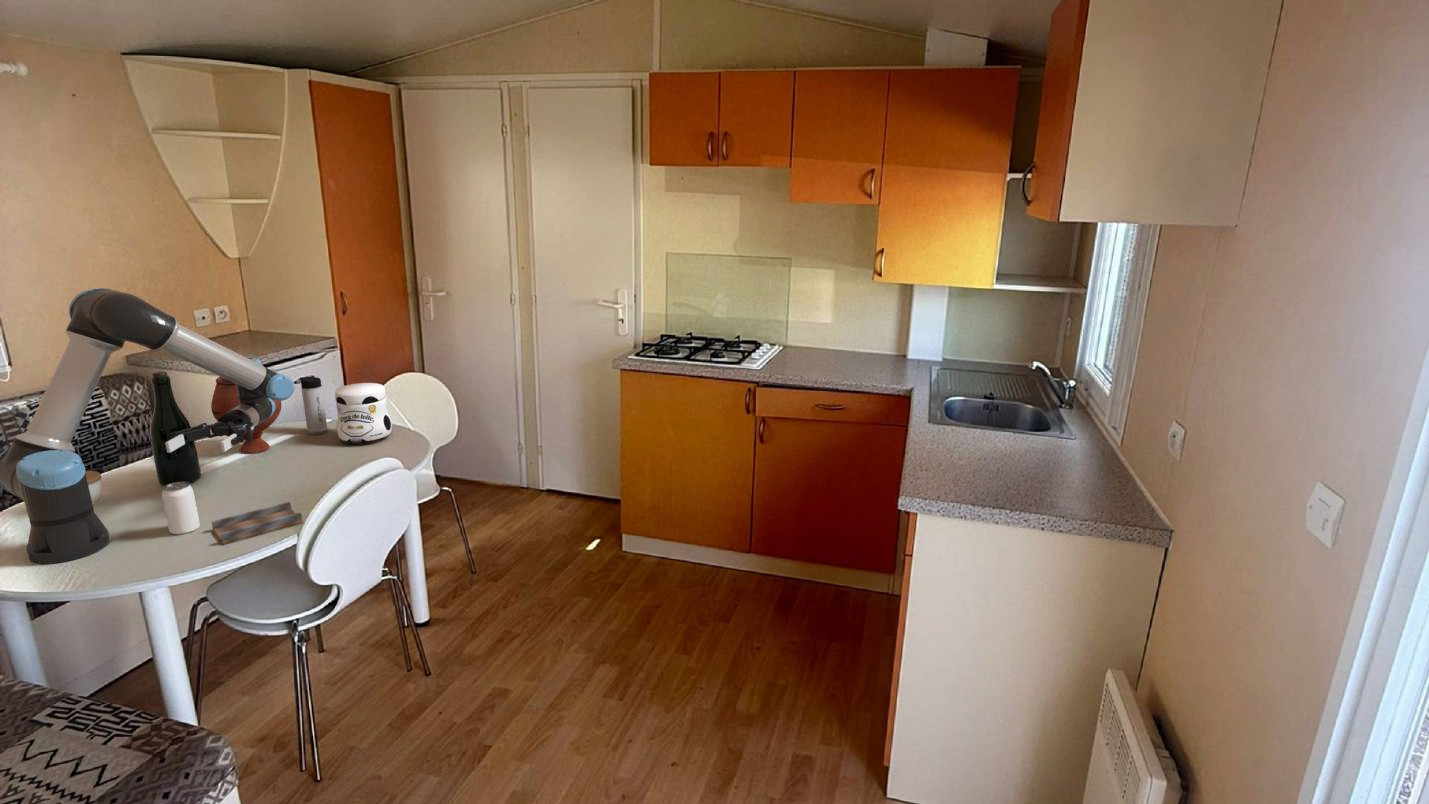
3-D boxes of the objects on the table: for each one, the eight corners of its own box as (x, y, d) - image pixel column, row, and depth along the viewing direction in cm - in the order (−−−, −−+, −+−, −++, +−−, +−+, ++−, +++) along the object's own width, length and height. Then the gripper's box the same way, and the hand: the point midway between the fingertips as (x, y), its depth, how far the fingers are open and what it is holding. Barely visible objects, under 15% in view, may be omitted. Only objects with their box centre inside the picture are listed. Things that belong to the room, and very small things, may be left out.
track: (223, 544, 184) (222, 535, 183) (212, 530, 191) (211, 520, 190) (303, 523, 196) (301, 514, 195) (290, 510, 203) (288, 501, 203)
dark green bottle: (200, 471, 228) (181, 366, 219) (203, 482, 220) (182, 373, 211) (158, 478, 222) (136, 370, 213) (159, 490, 214) (136, 378, 205)
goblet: (214, 448, 247) (201, 374, 240) (279, 436, 260) (268, 366, 253) (226, 464, 234) (212, 387, 227) (294, 451, 246) (283, 377, 239)
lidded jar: (102, 508, 202) (95, 475, 200) (51, 516, 197) (43, 483, 195) (109, 494, 211) (102, 462, 209) (60, 501, 206) (52, 469, 203)
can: (184, 536, 188) (175, 492, 184) (163, 533, 189) (153, 489, 185) (206, 525, 194) (198, 482, 190) (185, 522, 195) (176, 479, 191)
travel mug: (308, 430, 266) (300, 375, 261) (329, 428, 268) (321, 374, 263) (305, 435, 261) (297, 380, 255) (326, 434, 263) (318, 379, 257)
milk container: (347, 451, 247) (340, 398, 242) (331, 437, 260) (325, 387, 255) (400, 440, 258) (395, 389, 253) (383, 427, 271) (377, 379, 266)
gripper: (285, 433, 218) (247, 459, 198) (195, 434, 216) (147, 461, 196) (281, 408, 216) (242, 433, 195) (190, 409, 214) (141, 434, 193)
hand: (195, 447), depth 195 cm, fingers open, 13 cm apart
